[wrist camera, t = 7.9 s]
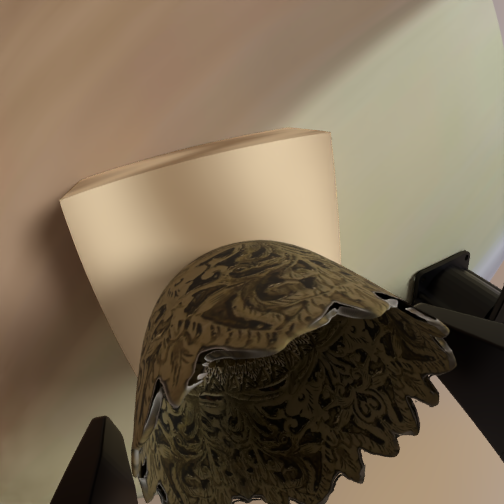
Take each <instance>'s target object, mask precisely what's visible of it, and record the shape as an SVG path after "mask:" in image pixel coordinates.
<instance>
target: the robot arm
mask: <svg viewBox="0 0 504 504" xmlns="http://www.w3.org/2000/svg"><path fill="white" fill-rule="evenodd" d="M469 258H470V253H469V252H468V251H466V250H464V251H462V252H460V253H458V254H456V255H454V256H452V257H450V258H448V259H446V260H443V261H441V262H439V263H437V264H435V265H433V266H431V267H429V268H426V269H424V270H422V271H420V272H419V273H418V274H417V276H416V279H415V287H414V296H413V304H412V306H413V307H415V308H417V309H418V310H420V311H422V312H424V313H426V314H429V315H431V316H433V317H435V318H437V319H438V320H439V321H441V322H442V323H443V324H444V325H445V326H446V327H447V328H448V329H449V334H448V335H447V336H446V337H444V338H443V339H444V340H445V341H446V343H447V344H448V345H449V347H450V348H451V350H452V352H453V354H454V356H455V359H456V364H457V365H456V367H455V368H454V369H453V370H451V371H449V372H447V373H444V374H441V375H438V376H437V377H438V378H439V379H440V381H441V382H442V383H443V384H444V385H445V387H446V388H447V389H448V390H449V391H450V393H451V394H452V395H453V397H454V398H455V399H456V400H457V402H458V403H459V404H460V405H461V407H462V408H463V409H464V410H465V412H466V413H467V414H468V416H469V417H470V418H471V419H472V421H473V422H474V423H475V425H476V426H477V427H478V428H479V430H480V431H481V432H482V434H483V435H484V436H485V438H486V439H487V440H488V442H489V443H490V444H491V446H492V447H493V448H494V450H495V451H496V452H497V454H498V455H499V456H500V458H501V460H502V461H503V462H504V286H503V289H502V290H501V289H499V288H498V287H496V286H494V285H493V284H491V283H490V282H488V281H487V280H485V279H483V278H482V277H480V276H478V275H477V274H475V273H474V272H472V271H470V270H469V269H468V265H469ZM50 504H138V501H137V495H136V489H135V484H134V480H133V476H132V473H131V469H130V465H129V461H128V457H127V452H126V448H125V444H124V439H123V436H122V434H121V432H120V431H119V430H118V428H117V427H116V426H115V425H114V423H113V422H112V421H111V420H110V418H109V417H107V416H101V417H96V418H93V419H92V420H91V422H90V424H89V426H88V428H87V430H86V432H85V434H84V435H83V437H82V439H81V441H80V443H79V445H78V447H77V449H76V451H75V453H74V455H73V457H72V459H71V461H70V463H69V465H68V467H67V469H66V471H65V473H64V475H63V477H62V479H61V481H60V483H59V485H58V487H57V490H56V492H55V494H54V496H53V498H52V500H51V502H50Z"/></svg>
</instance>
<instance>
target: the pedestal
mask: <svg viewBox="0 0 504 504" xmlns="http://www.w3.org/2000/svg"><path fill="white" fill-rule="evenodd" d="M59 201H60V204H61V207H62V210H63V213H64V216H65V219H66V222H67V225H68V228H69V230H70V233H71V236H72V239H73V241H74V244H75V247H76V249H77V252H78V254H79V257H80V260H81V262H82V265H83V267H84V269H85V272H86V274H87V277H88V279H89V281H90V284H91V286H92V288H93V291H94V293H95V295H96V297H97V300H98V302H99V304H100V306H101V308H102V310H103V313H104V315H105V317H106V319H107V321H108V323H109V325H110V327H111V329H112V331H113V333H114V335H115V337H116V339H117V341H118V343H119V345H120V347H121V349H122V351H123V352H124V354H125V356H126V358H127V360H128V362H129V364H130V365H131V367H132V369H133V371H134V373H135V374H136V376H137V378H138V372H139V364H140V356H141V350H142V345H143V340H144V336H145V332H146V329H147V325H148V321H149V318H150V316H151V314H152V311H153V309H154V307H155V304H156V302H157V300H158V299H159V297H160V295H161V293H162V292H163V290H164V289H165V288H166V286H167V285H168V284H169V282H170V281H171V280H172V279H173V278H174V277H175V276H176V275H177V274H178V273H179V272H180V271H181V270H182V269H183V268H185V267H186V266H187V265H188V264H189V263H191V262H192V261H194V260H195V259H197V258H198V257H200V256H201V255H203V254H205V253H207V252H209V251H211V250H214V249H216V248H219V247H221V246H224V245H228V244H232V243H237V242H243V241H250V240H273V241H278V242H284V243H288V244H293V245H296V246H299V247H302V248H305V249H308V250H310V251H313V252H315V253H317V254H319V255H322V256H324V257H326V258H328V259H330V260H332V261H334V262H336V263H338V264H340V265H341V249H340V231H339V216H338V202H337V190H336V179H335V168H334V159H333V149H332V141H331V132H326V131H318V130H309V129H299V128H289V127H287V128H281V129H276V130H270V131H264V132H259V133H254V134H249V135H244V136H239V137H234V138H229V139H225V140H220V141H216V142H211V143H207V144H203V145H198V146H194V147H190V148H186V149H182V150H178V151H174V152H171V153H167V154H163V155H159V156H156V157H152V158H149V159H145V160H142V161H138V162H135V163H131V164H128V165H125V166H122V167H118V168H115V169H112V170H109V171H106V172H103V173H100V174H97V175H94V176H91V177H88V178H85V179H82V180H80V181H79V182H78V183H77V184H76V185H75V186H74V187H73V188H72V189H71V190H70V191H69V192H68V193H67V194H66V195H65V196H64V197H62V198H61V199H60V200H59Z"/></svg>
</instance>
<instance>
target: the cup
mask: <svg viewBox="0 0 504 504" xmlns="http://www.w3.org/2000/svg"><path fill="white" fill-rule="evenodd" d="M448 334H449V329H448V328H447V327H446V326H445V325H444V324H443V323H442V322H441V321H439V320H438V319H437V318H435V317H433V316H431V315H429V314H426V313H424V312H422V311H420V310H418V309H417V308H415V307H413V306H412V305H410V304H408V303H407V302H405V301H404V300H402V299H400V298H399V297H397V296H395V295H393V294H392V293H390V292H388V291H387V290H385V289H383V288H381V287H380V286H378V285H376V284H374V283H373V282H371V281H369V280H367V279H365V278H364V277H362V276H360V275H358V274H356V273H355V272H353V271H351V270H349V269H347V268H345V267H344V266H342V265H340V264H338V263H336V262H334V261H332V260H330V259H328V258H326V257H324V256H322V255H319V254H317V253H315V252H313V251H310V250H308V249H305V248H302V247H299V246H296V245H293V244H288V243H284V242H278V241H273V240H250V241H243V242H237V243H232V244H228V245H224V246H221V247H219V248H216V249H214V250H211V251H209V252H207V253H205V254H203V255H201V256H200V257H198V258H197V259H195V260H194V261H192V262H191V263H189V264H188V265H187V266H186V267H185V268H183V269H182V270H181V271H180V272H179V273H178V274H177V275H176V276H175V277H174V278H173V279H172V280H171V281H170V282H169V284H168V285H167V286H166V288H165V289H164V290H163V292H162V293H161V295H160V297H159V299H158V300H157V302H156V304H155V307H154V309H153V311H152V314H151V316H150V318H149V321H148V325H147V329H146V332H145V336H144V340H143V345H142V350H141V356H140V364H139V372H138V381H137V391H136V402H135V416H134V433H133V442H132V449H131V466H132V474H133V476H134V477H135V478H136V477H137V476H138V479H139V482H140V485H141V488H142V492H143V496H144V499H145V501H146V503H149V502H150V501H151V500H152V499H153V497H154V495H155V493H156V491H157V492H158V494H159V496H160V499H161V503H162V504H234V503H235V502H237V501H242V502H245V503H250V502H251V501H253V500H261V499H262V500H263V501H264V502H265V503H268V504H290V500H292V501H295V502H296V503H298V504H325V503H326V502H327V500H328V497H329V495H330V494H331V493H332V492H333V491H334V487H335V485H336V481H337V480H338V478H339V477H340V476H342V475H343V476H344V477H346V478H347V479H349V480H352V481H354V482H357V483H360V484H361V483H363V481H364V477H365V465H364V463H363V460H362V454H361V449H363V450H364V451H365V452H368V453H370V454H373V455H380V456H385V457H395V456H397V455H398V453H399V450H400V447H399V444H398V441H397V438H398V437H399V436H400V435H399V434H402V435H413V436H415V435H418V433H419V430H420V422H419V417H418V413H417V409H416V407H415V405H414V403H413V401H412V399H411V398H414V399H417V400H418V401H420V402H422V403H425V404H427V405H429V406H430V407H434V406H436V405H438V403H439V392H438V391H437V389H436V388H435V387H434V385H433V384H432V382H431V381H430V377H431V376H433V375H436V376H438V375H441V374H444V373H447V372H449V371H451V370H453V369H454V368H455V367H456V365H457V364H456V359H455V356H454V354H453V352H452V350H451V348H450V347H449V345H448V344H447V343H446V341H445V340H444V339H443V338H444V337H446V336H447V335H448ZM430 374H431V375H430ZM428 375H430V376H429V377H428ZM339 473H342V474H340V475H338V474H339ZM336 477H337V478H336ZM335 478H336V479H335ZM334 480H335V481H334ZM333 482H334V483H333ZM252 498H261V499H252ZM233 499H240V500H236V501H233V502H232V500H233Z"/></svg>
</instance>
